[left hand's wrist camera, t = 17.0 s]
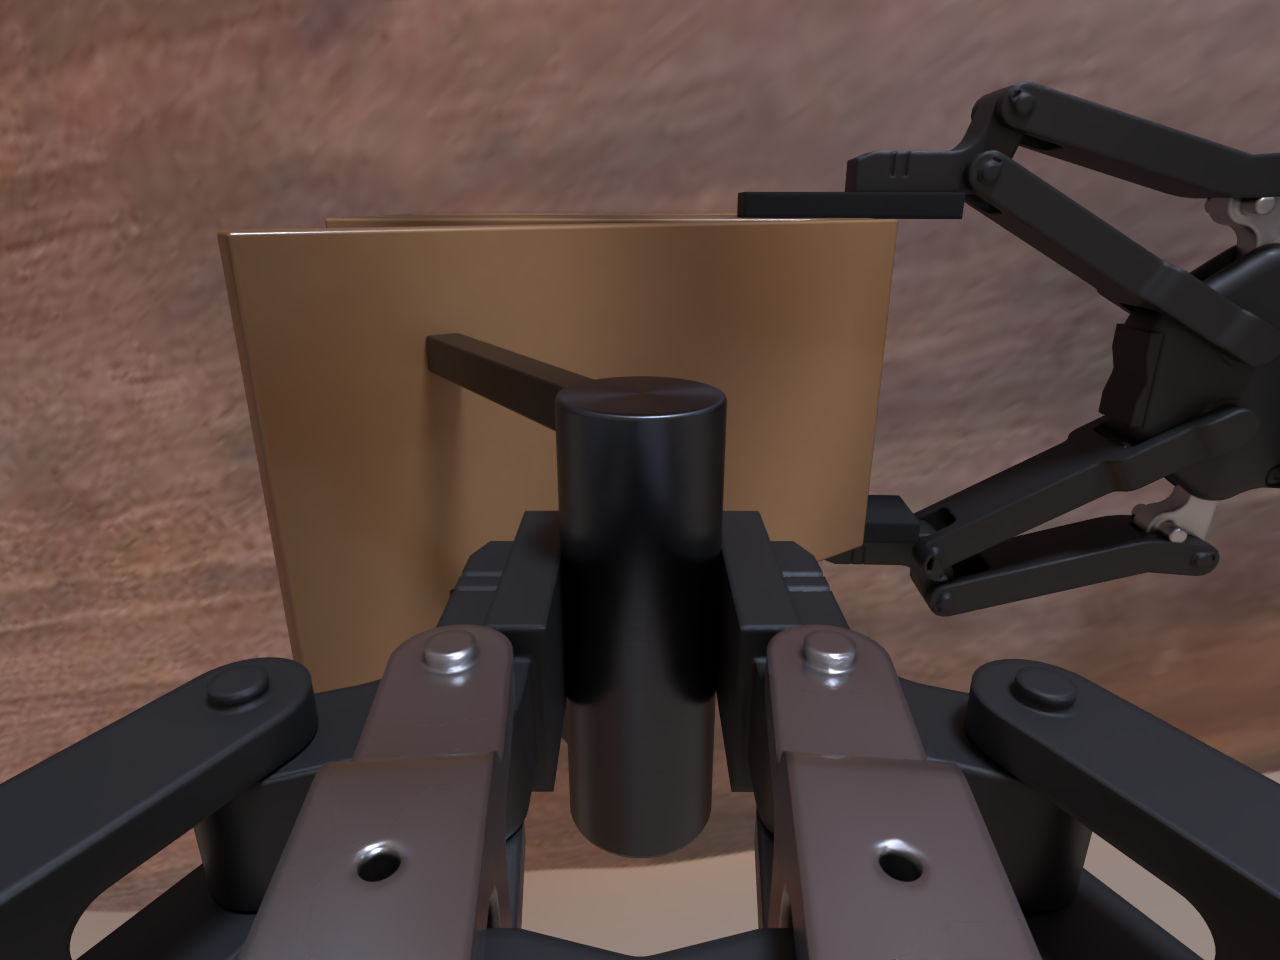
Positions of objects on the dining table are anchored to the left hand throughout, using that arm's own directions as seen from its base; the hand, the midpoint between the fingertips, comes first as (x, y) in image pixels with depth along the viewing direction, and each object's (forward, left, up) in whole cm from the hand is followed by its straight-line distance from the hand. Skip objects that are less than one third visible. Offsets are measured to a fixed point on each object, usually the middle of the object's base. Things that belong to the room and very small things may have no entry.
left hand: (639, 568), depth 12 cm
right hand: (+2, -1, -15) cm, 15 cm away
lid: (-1, 0, -8) cm, 8 cm away
